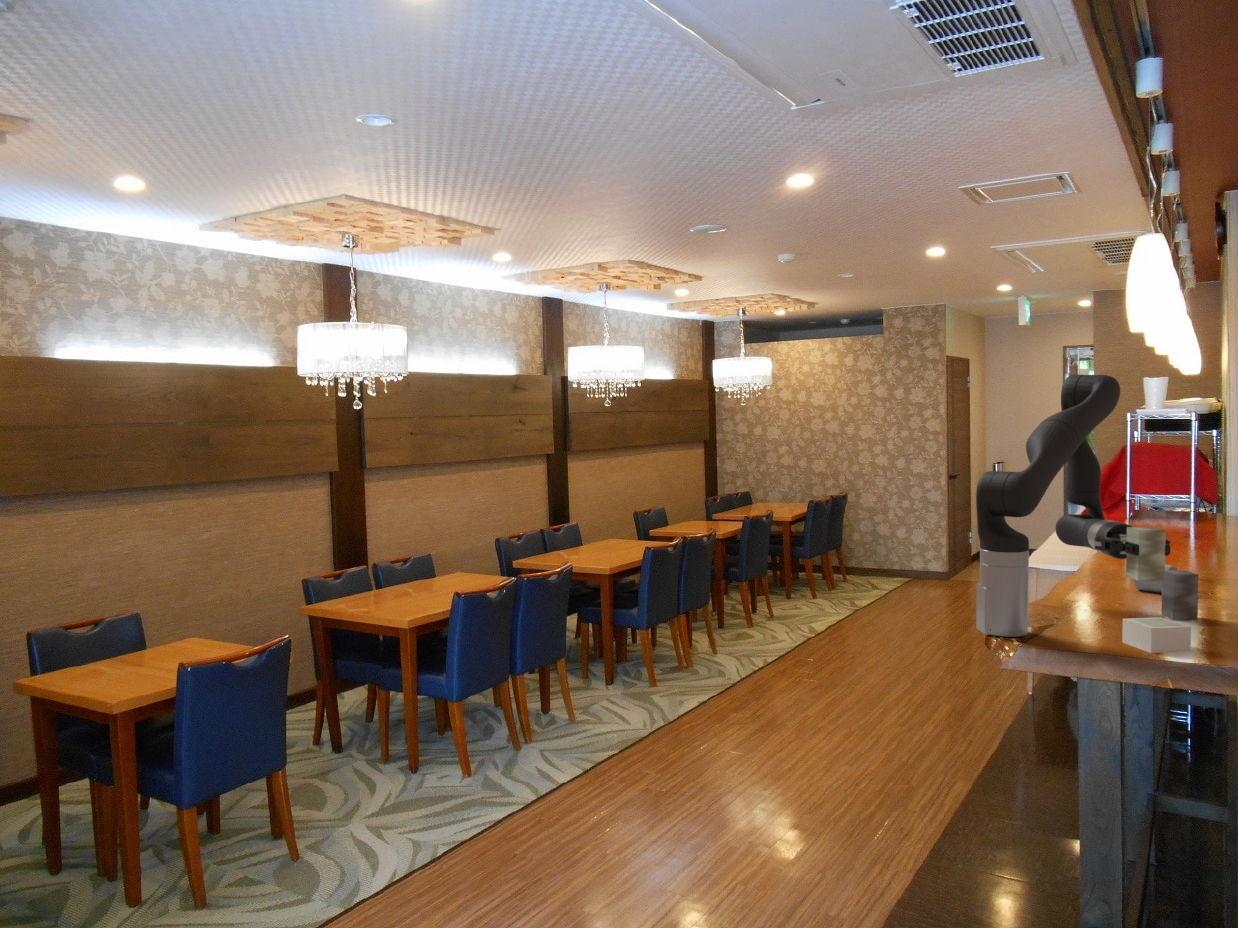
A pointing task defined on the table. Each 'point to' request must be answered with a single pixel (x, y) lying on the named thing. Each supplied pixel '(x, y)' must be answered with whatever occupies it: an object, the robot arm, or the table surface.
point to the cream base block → (1156, 635)
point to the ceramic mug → (1152, 583)
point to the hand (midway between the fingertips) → (1152, 550)
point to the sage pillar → (1146, 554)
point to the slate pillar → (1180, 595)
